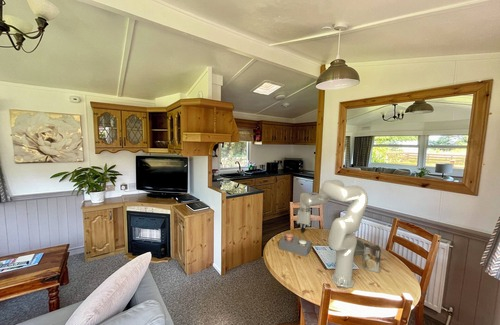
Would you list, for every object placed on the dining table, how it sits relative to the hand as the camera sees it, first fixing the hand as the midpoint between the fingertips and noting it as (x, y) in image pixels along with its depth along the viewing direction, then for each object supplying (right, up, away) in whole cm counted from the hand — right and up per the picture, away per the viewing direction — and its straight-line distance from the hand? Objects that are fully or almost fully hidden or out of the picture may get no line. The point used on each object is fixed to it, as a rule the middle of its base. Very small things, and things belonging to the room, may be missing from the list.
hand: (302, 232), depth 161 cm
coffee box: (+42, -19, -19) cm, 49 cm away
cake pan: (+40, -16, +8) cm, 44 cm away
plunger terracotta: (-10, -10, +6) cm, 15 cm away
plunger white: (0, -14, +1) cm, 14 cm away
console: (-5, -15, +4) cm, 16 cm away
